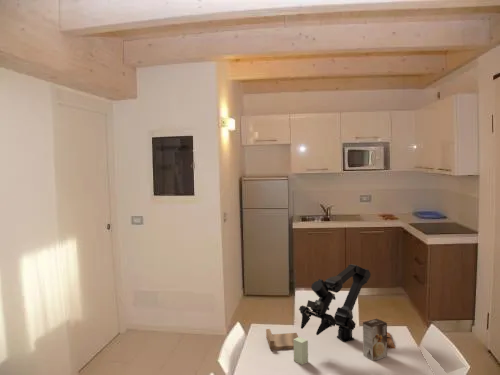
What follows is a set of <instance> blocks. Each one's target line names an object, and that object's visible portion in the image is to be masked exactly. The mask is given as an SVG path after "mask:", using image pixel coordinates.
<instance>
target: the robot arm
mask: <svg viewBox="0 0 500 375" xmlns="http://www.w3.org/2000/svg"><path fill="white" fill-rule="evenodd" d="M351 278H352V284H351V286H350V289H349V290H348V293H347V295H346V298H345V300H344V303H343V305H342V306H341V307H339V306H338V307H337V309H336V311H335V313H334V315H332V314H329V313H327V311H330V305H331V303H332V301H333V300H334V301H336V295H335V293H336V294H337V293H339V292H340V291H341V290H342V288H343V285H344V283H346V282H347V281H349V279H351ZM370 278H371V272H370V270H369V269H368V268H363V267H360V266H359V265H356V264H352V263H351V264H350V263H349V264H348V265H347V267H346V268H344V269H343V270H341V271H340V272H339V273H338V274H337V275H335V276H330V277H328V278H326V279H325V280H323V279H320V278H319V279H318V280H316V281H314V282H313V283H312V284H311V291H313V292H314V294H315V295H316V296H317V297H318V299H315V300H314V301H313V300H307V303H306V306H305V305H300V306H299V308H298V311H299V312H300V314H301V325H300V329H302V330H303V329H304V328H305V327H306V325H307V324H308V322H309V321H310V320H311V317H315V318H319V319H321V321H320V324H319V326H318V328H317V330H316V331H315V332H316V333H315V334H316V336H319V335H320V334H322V333H323V332H324V331H325V330H327V329H328V328H332V327H335V326H337V327H338V329H337V336H336V338H337V339H339V340H341V341H342V342H344V343H346V342H349V341H353V340H355V337H353V331H354V330H355V328H356V323H355V321H354V320H353V318H354V315H353V314H354V313H353V310H354V307H355V305H356V302H357V300H358V297H359V295H360V293H361V290H362V287H363V286H364V285H366V284H367V283H368V282H369V279H370ZM332 292H333V293H332Z"/></svg>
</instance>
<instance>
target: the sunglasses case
mask: <svg viewBox="0 0 500 375" xmlns="http://www.w3.org/2000/svg"><path fill="white" fill-rule="evenodd" d="M387 349H396V346H395V344H394V341H393V338H392V335H391V333H390V332H388V331H387Z"/></svg>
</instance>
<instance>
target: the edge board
mask: <svg viewBox="0 0 500 375" xmlns="http://www.w3.org/2000/svg"><path fill="white" fill-rule="evenodd" d="M265 332H266V333H265V335H266V336H265V337H266V341H267V344H268V347H269V350H270V351H275V350H276V351H277V350H278V351H279V350H291V349H292V350H294V339H295V338H298V337H299V335H298V333H297V332H289V333H273V334H272V331H271V329H270V328H266V329H265Z"/></svg>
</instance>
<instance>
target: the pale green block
mask: <svg viewBox="0 0 500 375" xmlns="http://www.w3.org/2000/svg"><path fill="white" fill-rule="evenodd" d="M308 341H309V340H308V339H306V338H304V337H301V336H298V338H295V339H294V349H293V361H294V362H295V363H298V364H299V365H302V366H303V365H304V364H307V363H308V362H309V346H308V345H309V344H308V343H309V342H308Z"/></svg>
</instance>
